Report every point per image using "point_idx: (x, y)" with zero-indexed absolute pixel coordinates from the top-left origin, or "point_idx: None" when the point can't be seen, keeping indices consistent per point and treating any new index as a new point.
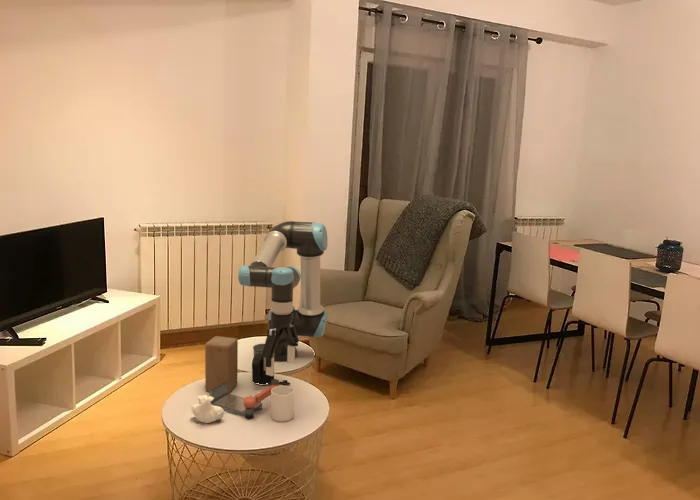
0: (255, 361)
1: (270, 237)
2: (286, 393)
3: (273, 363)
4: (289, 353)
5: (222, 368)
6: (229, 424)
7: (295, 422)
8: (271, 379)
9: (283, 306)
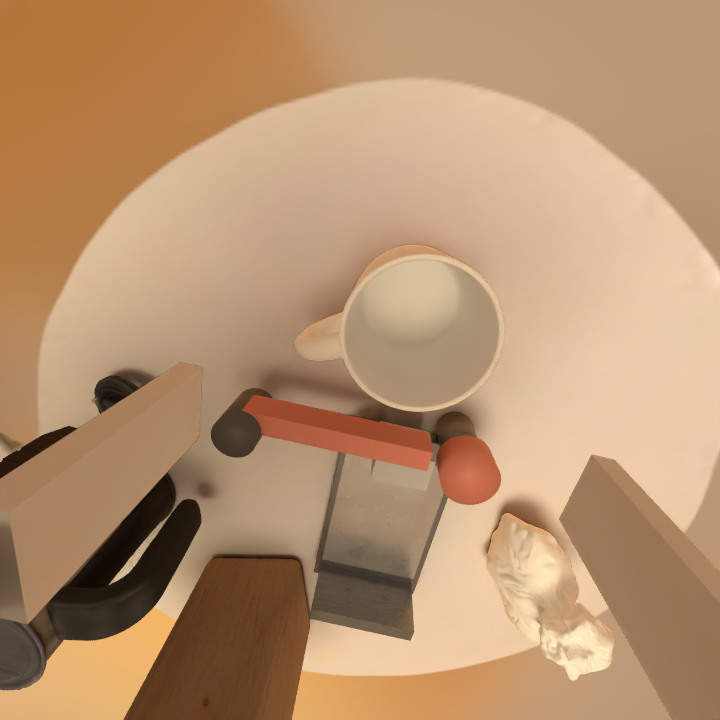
0: (137, 607)
1: None
2: (349, 323)
3: (706, 580)
4: (128, 486)
5: (276, 692)
6: (532, 473)
7: (446, 215)
8: None
9: None
